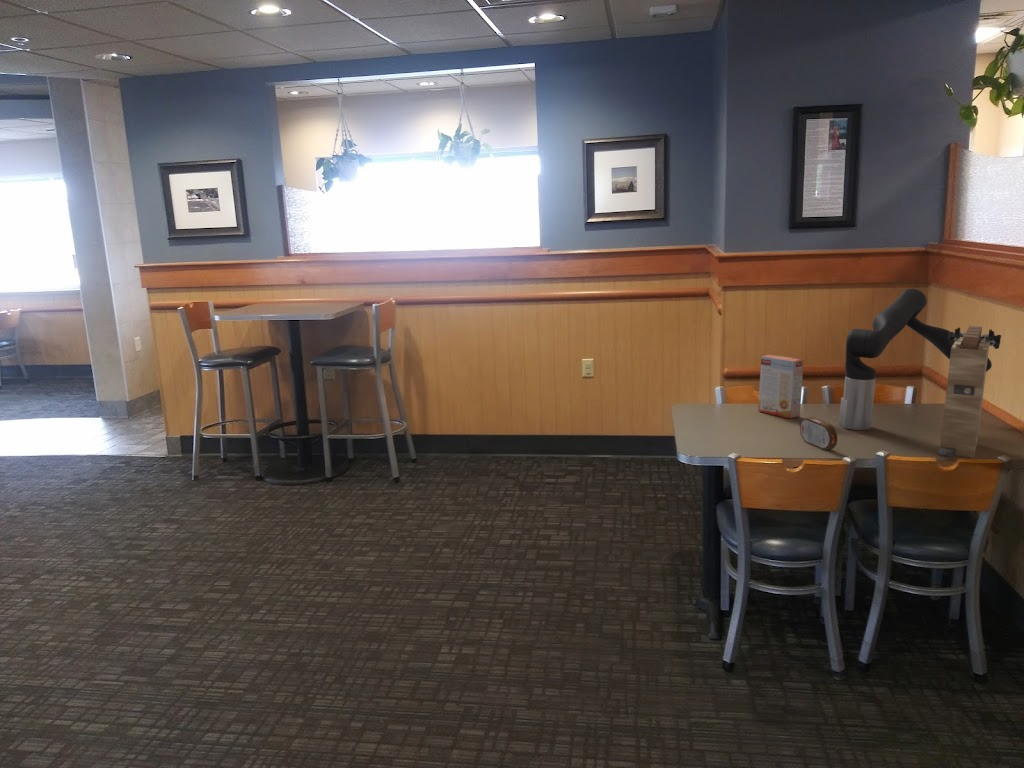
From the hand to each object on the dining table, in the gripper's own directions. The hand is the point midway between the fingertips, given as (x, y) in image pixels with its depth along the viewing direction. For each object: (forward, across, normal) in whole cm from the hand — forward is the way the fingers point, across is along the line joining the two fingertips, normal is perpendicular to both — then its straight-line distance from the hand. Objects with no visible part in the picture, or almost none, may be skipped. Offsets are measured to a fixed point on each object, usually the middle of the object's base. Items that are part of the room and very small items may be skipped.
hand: (974, 331), depth 240 cm
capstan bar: (+5, 0, +6) cm, 8 cm away
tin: (+10, -37, +46) cm, 60 cm away
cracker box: (-18, -58, +30) cm, 67 cm away
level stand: (-4, 0, +38) cm, 38 cm away
